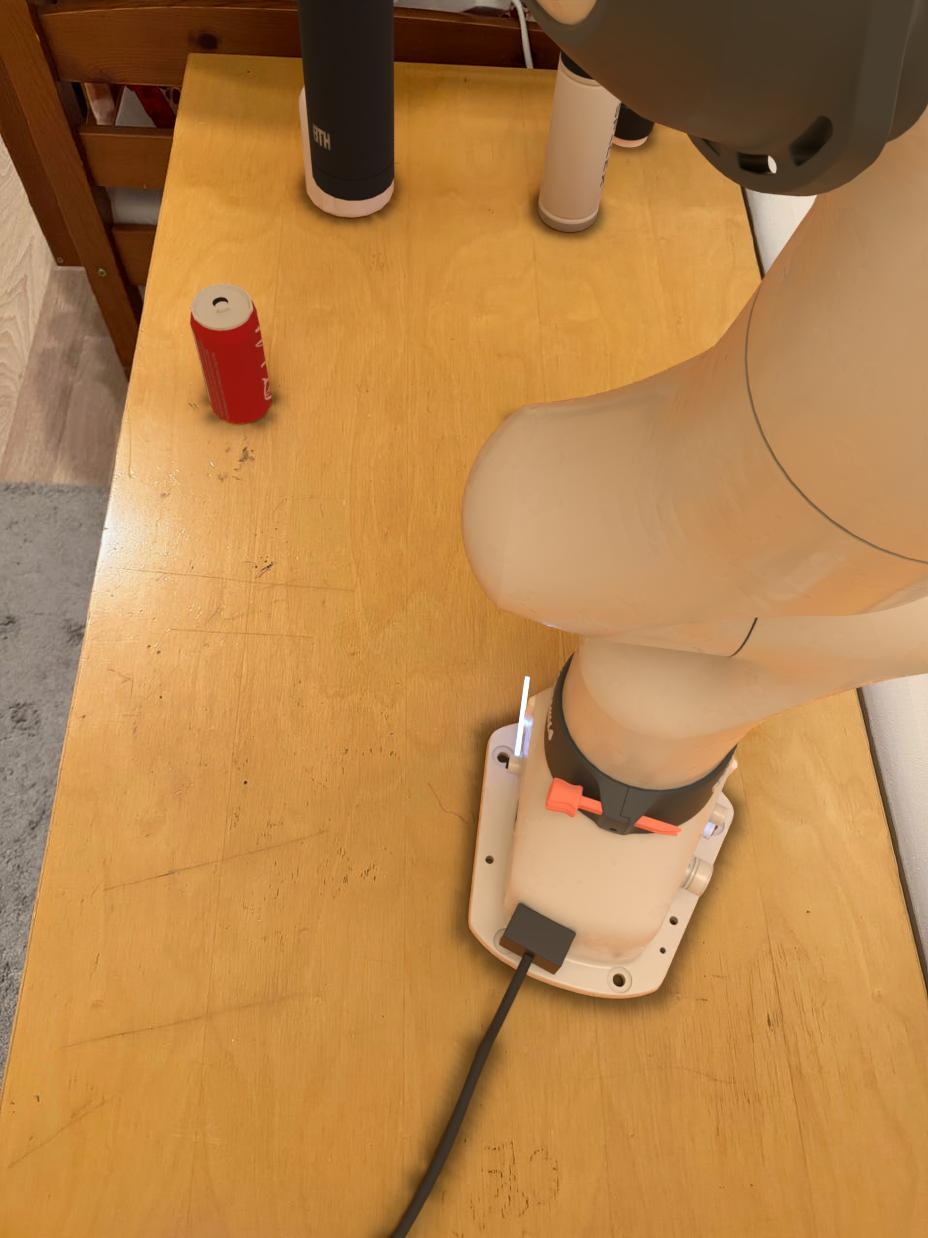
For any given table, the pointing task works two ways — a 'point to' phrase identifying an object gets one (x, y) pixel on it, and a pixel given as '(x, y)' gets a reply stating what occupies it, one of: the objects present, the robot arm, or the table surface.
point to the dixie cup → (631, 128)
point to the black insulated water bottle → (349, 94)
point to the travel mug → (576, 149)
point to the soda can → (231, 352)
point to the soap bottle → (325, 200)
